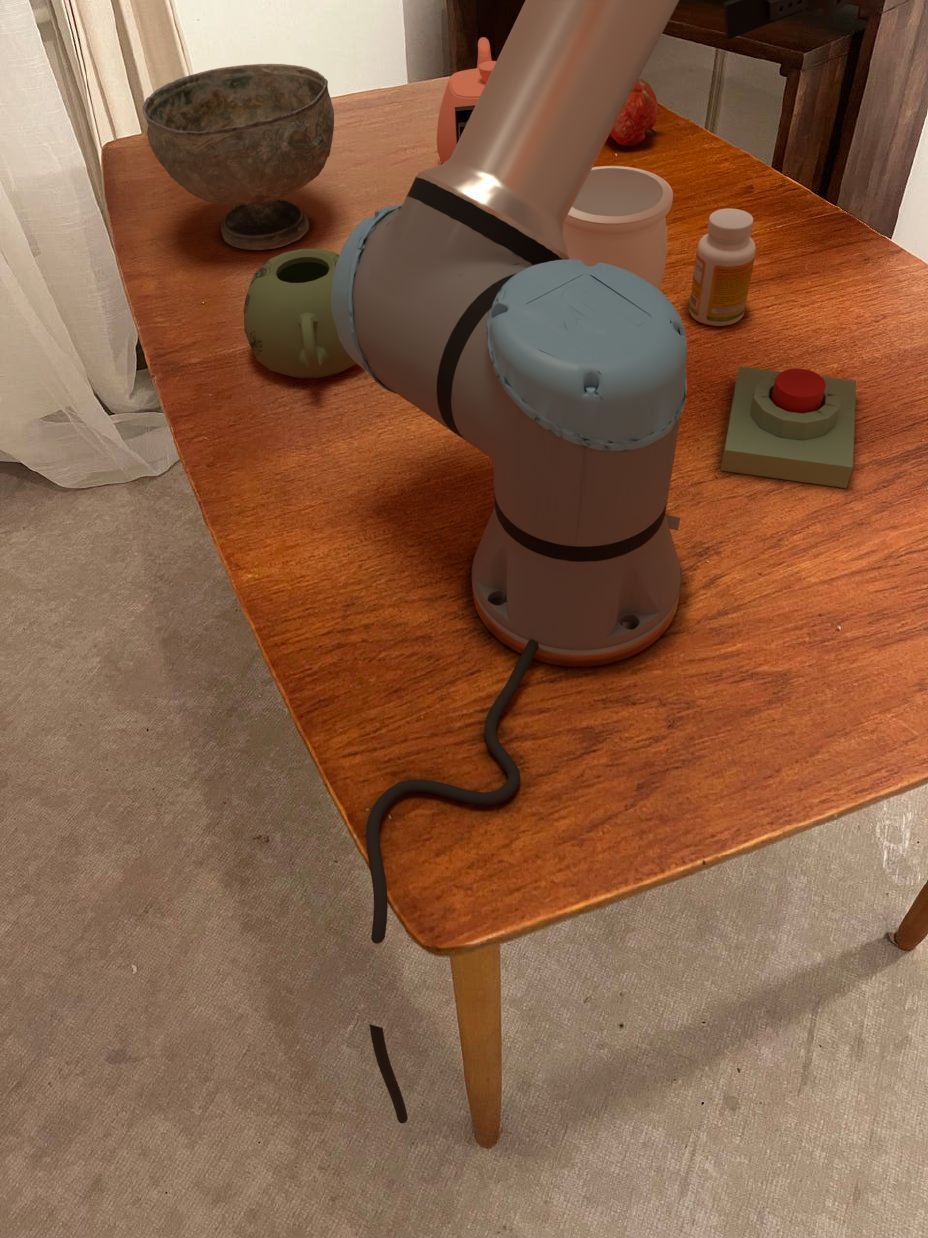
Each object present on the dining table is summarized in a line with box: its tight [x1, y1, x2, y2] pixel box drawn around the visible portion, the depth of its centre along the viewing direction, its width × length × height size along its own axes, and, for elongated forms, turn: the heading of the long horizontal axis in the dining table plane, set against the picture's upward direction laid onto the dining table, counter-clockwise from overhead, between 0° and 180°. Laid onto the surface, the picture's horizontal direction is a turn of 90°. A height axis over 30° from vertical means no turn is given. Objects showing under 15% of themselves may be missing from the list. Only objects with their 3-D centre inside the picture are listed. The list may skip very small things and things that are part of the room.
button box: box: [720, 366, 857, 489], centre depth 82 cm, size 12×10×4 cm
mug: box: [243, 248, 358, 379], centre depth 92 cm, size 16×13×9 cm
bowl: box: [142, 63, 335, 251], centre depth 107 cm, size 20×19×15 cm
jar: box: [563, 165, 674, 291], centre depth 88 cm, size 11×10×15 cm
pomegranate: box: [608, 78, 658, 147], centre depth 122 cm, size 7×7×10 cm
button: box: [772, 367, 826, 414], centre depth 81 cm, size 4×4×2 cm
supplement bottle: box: [688, 207, 757, 327], centre depth 93 cm, size 5×5×10 cm
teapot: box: [436, 36, 497, 164], centre depth 116 cm, size 13×20×12 cm, turn 5°
